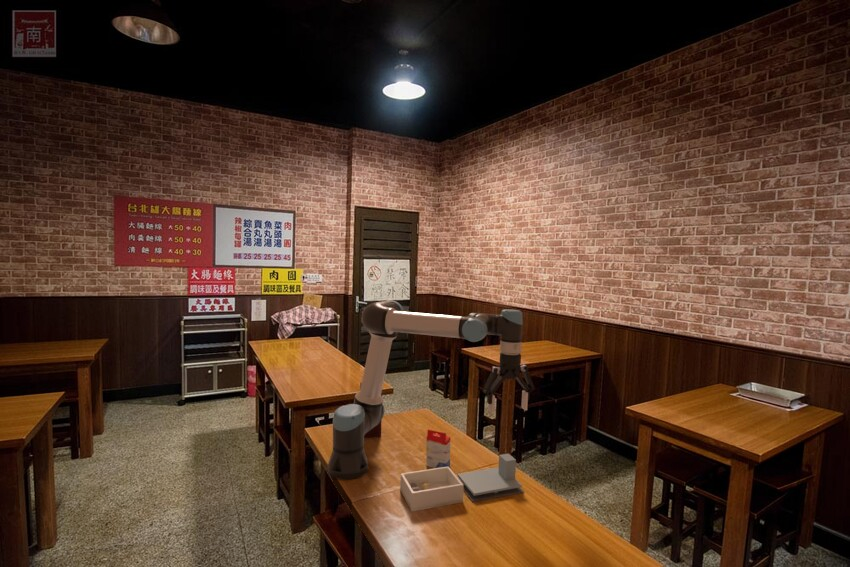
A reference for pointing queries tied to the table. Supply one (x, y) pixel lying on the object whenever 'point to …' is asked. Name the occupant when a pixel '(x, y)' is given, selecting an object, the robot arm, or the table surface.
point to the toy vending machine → (373, 429)
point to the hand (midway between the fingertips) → (508, 411)
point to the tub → (431, 488)
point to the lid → (492, 477)
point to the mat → (490, 494)
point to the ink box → (437, 449)
